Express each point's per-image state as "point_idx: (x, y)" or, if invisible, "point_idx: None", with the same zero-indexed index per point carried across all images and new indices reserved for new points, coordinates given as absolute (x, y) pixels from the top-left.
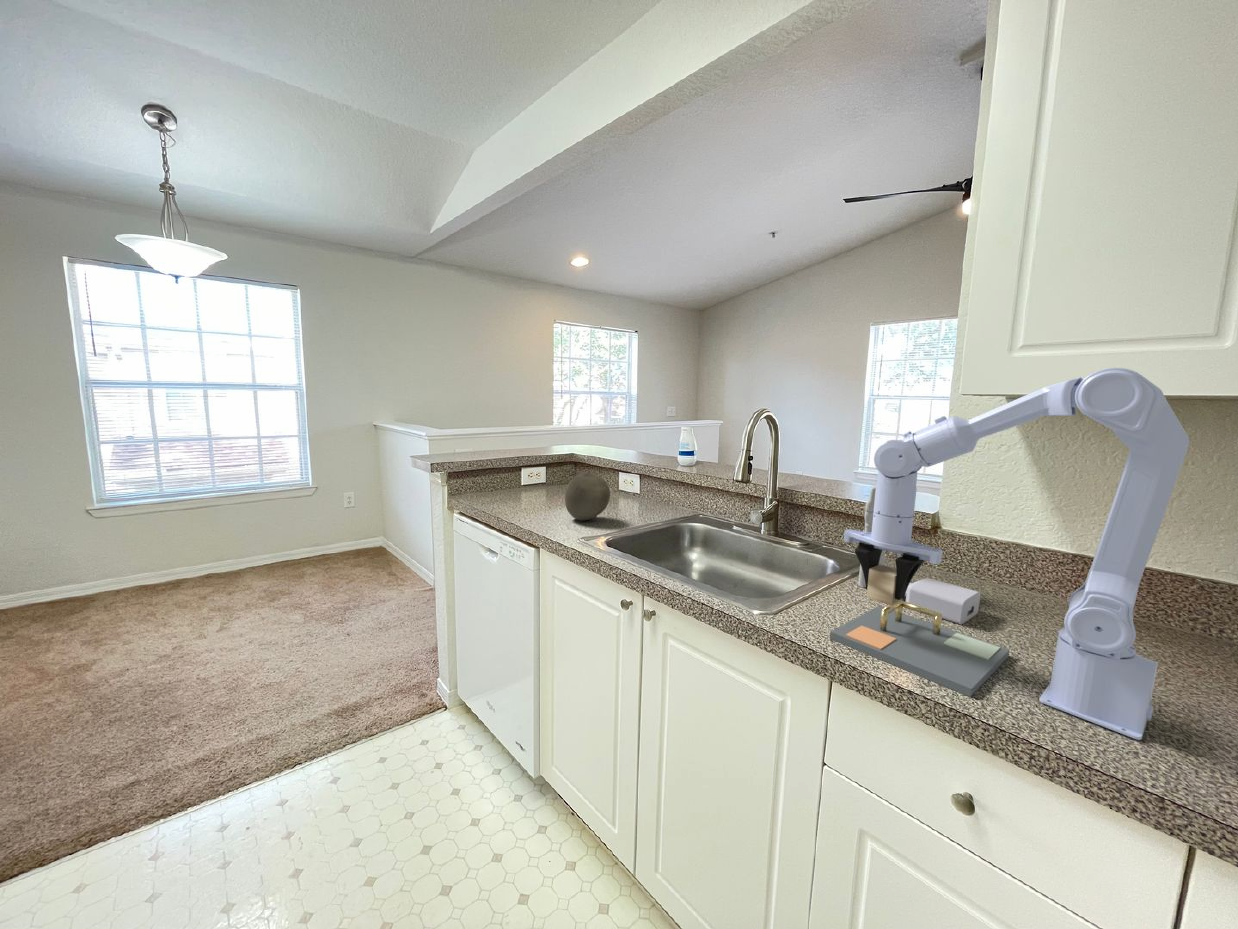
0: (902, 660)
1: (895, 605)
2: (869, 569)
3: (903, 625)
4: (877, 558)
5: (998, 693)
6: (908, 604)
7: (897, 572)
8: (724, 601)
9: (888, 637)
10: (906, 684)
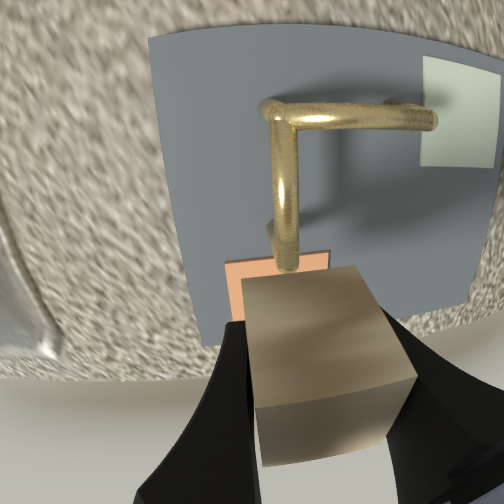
0: None
1: (296, 193)
2: (263, 464)
3: (300, 132)
4: (254, 468)
5: (488, 244)
6: (326, 127)
7: (395, 457)
8: (2, 357)
9: (311, 265)
10: None
